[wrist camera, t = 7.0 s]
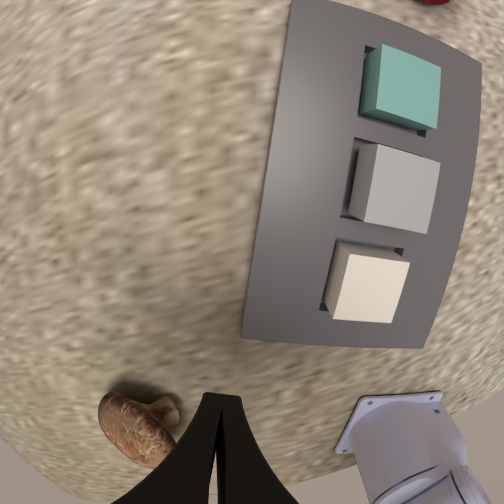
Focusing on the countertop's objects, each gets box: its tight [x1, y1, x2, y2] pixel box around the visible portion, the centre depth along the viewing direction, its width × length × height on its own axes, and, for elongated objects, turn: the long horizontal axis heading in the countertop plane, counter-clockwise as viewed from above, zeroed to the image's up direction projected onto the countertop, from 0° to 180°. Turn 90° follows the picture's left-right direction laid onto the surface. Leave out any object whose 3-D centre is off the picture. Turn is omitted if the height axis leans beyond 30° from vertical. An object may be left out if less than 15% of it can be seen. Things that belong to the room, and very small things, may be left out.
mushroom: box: [98, 391, 180, 469], centre depth 22 cm, size 8×8×6 cm
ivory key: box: [323, 241, 410, 323], centre depth 19 cm, size 4×4×3 cm
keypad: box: [241, 0, 482, 348], centre depth 18 cm, size 14×22×2 cm, turn 172°
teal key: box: [359, 44, 441, 131], centre depth 15 cm, size 4×4×3 cm
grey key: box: [348, 144, 441, 234], centre depth 16 cm, size 4×4×3 cm
